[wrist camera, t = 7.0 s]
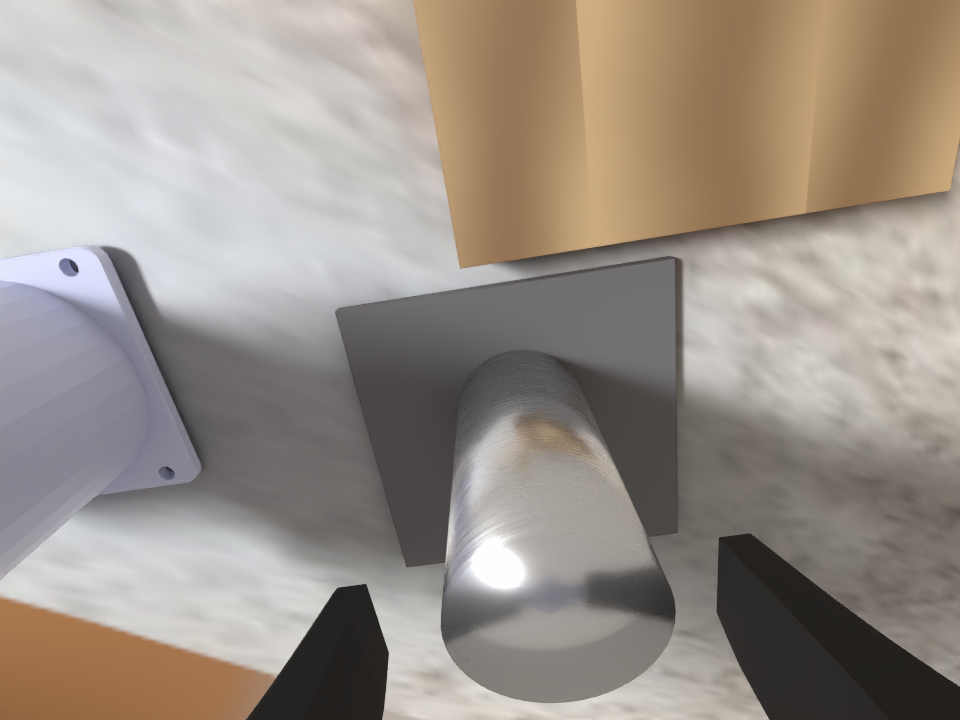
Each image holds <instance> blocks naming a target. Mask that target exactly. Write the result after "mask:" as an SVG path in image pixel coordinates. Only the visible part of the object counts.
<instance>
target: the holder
mask: <svg viewBox="0 0 960 720" xmlns="http://www.w3.org/2000/svg"><path fill="white" fill-rule="evenodd" d="M413 3H414V8H415V14H416V20H417V25H418V31H419V37H420V42H421V48H422V54H423V60H424V65H425V71H426V77H427V82H428V88H429V94H430V100H431V105H432V111H433V117H434V122H435V128H436V134H437V140H438V145H439V151H440V157H441V162H442V168H443V174H444V180H445V185H446V191H447V197H448V202H449V208H450V214H451V220H452V225H453V231H454V237H455V242H456V248H457V254H458V260H459V265H460V269H461V268H467V267H473V266H480V265H486V264H492V263H498V262H505V261H511V260H517V259H523V258H530V257H536V256H542V255H548V254H555V253H561V252H567V251H573V250H580V249H586V248H592V247H598V246H605V245H611V244H617V243H623V242H630V241H636V240H642V239H648V238H655V237H661V236H667V235H673V234H680V233H686V232H692V231H698V230H705V229H711V228H717V227H723V226H730V225H736V224H742V223H748V222H755V221H761V220H767V219H773V218H780V217H786V216H792V215H799V214H805V213H811V212H817V211H824V210H830V209H836V208H842V207H849V206H855V205H861V204H867V203H874V202H880V201H886V200H892V199H899V198H905V197H911V196H917V195H924V194H930V193H936V192H942V191H949V190H950V187H951V182H952V177H953V172H954V166H955V161H956V156H957V150H958V145H959V140H960V0H413Z"/></svg>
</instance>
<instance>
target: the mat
mask: <svg viewBox="0 0 960 720" xmlns="http://www.w3.org/2000/svg"><path fill="white" fill-rule="evenodd" d="M335 314H336V317H337V321H338V324H339V328H340V331H341V335H342V339H343V342H344V346H345V349H346V353H347V356H348V360H349V364H350V367H351V371H352V374H353V378H354V381H355V385H356V388H357V392H358V396H359V399H360V403H361V406H362V410H363V413H364V417H365V421H366V424H367V428H368V431H369V435H370V438H371V442H372V446H373V449H374V453H375V456H376V460H377V463H378V467H379V470H380V474H381V478H382V481H383V485H384V488H385V492H386V495H387V499H388V503H389V506H390V510H391V513H392V517H393V520H394V524H395V528H396V531H397V535H398V538H399V542H400V545H401V549H402V552H403V556H404V560H405V563H406V567H413V566H420V565H428V564H436V563H444V562H446V551H447V538H448V526H449V514H450V502H451V490H452V477H453V465H454V453H455V441H456V429H457V417H458V404H459V397H460V393H461V390H462V387H463V385H464V383H465V381H466V380H467V378H468V377H469V375H470V374H471V373H472V372H473V371H474V369H475V368H477V367H478V366H479V365H480V364H481V363H483V362H484V361H486V360H487V359H489V358H491V357H493V356H495V355H497V354H500V353H503V352H508V351H512V350H532V351H538V352H542V353H545V354H547V355H550V356H552V357H554V358H556V359H557V360H559V361H561V362H562V363H563V364H564V365H565V366H567V367H568V369H569V370H570V371H571V372H572V373H573V375H574V376H575V378H576V379H577V381H578V383H579V385H580V388H581V390H582V392H583V394H584V397H585V399H586V401H587V403H588V406H589V408H590V410H591V412H592V414H593V417H594V419H595V421H596V423H597V426H598V428H599V430H600V432H601V434H602V437H603V439H604V441H605V443H606V446H607V448H608V450H609V452H610V454H611V457H612V459H613V461H614V463H615V466H616V468H617V470H618V472H619V475H620V477H621V479H622V481H623V483H624V486H625V488H626V490H627V492H628V495H629V497H630V499H631V501H632V503H633V506H634V508H635V510H636V512H637V515H638V517H639V519H640V521H641V524H642V526H643V528H644V530H645V532H646V535H647V537H650V536H658V535H665V534H673V533H678V524H677V426H676V327H675V258H673V257H671V256H667V257H661V258H654V259H648V260H642V261H635V262H629V263H623V264H616V265H610V266H604V267H597V268H591V269H585V270H578V271H572V272H566V273H559V274H553V275H546V276H540V277H534V278H527V279H521V280H515V281H508V282H502V283H496V284H489V285H483V286H477V287H470V288H464V289H458V290H451V291H445V292H439V293H432V294H426V295H420V296H413V297H407V298H400V299H394V300H388V301H381V302H375V303H369V304H362V305H356V306H350V307H343V308H338V309H337V310H336V312H335Z"/></svg>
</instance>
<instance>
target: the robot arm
mask: <svg viewBox="0 0 960 720" xmlns="http://www.w3.org/2000/svg"><path fill="white" fill-rule="evenodd" d="M70 259H71V260H72V261H74V262H75V263H76V264H77V266H78V270H79V272H78V273H77V272H75V271H74V270H73V269H72V267H71V266H70ZM166 467H169V468H171V469H172V470H173V471H174V473H172V472H170V471H168V470H167V468H166ZM200 471H201V464H200V461H199V459H198V457H197V454H196V452H195V450H194V447H193V445H192V443H191V441H190V438H189V436H188V434H187V432H186V429H185V427H184V425H183V422H182V420H181V418H180V416H179V413H178V411H177V409H176V407H175V404H174V402H173V400H172V398H171V395H170V393H169V391H168V388H167V386H166V384H165V382H164V379H163V377H162V375H161V373H160V370H159V368H158V366H157V363H156V361H155V359H154V357H153V354H152V352H151V350H150V348H149V345H148V343H147V341H146V338H145V336H144V334H143V332H142V329H141V327H140V325H139V323H138V320H137V318H136V316H135V313H134V311H133V309H132V307H131V304H130V302H129V300H128V298H127V295H126V293H125V291H124V289H123V286H122V284H121V282H120V279H119V277H118V275H117V273H116V270H115V268H114V266H113V264H112V261H111V259H110V258H109V256H108V255H107V253H106V252H104V251H103V250H102V249H101V248H99V247H96V246H94V245H84V246H78V247H72V248H66V249H61V250H55V251H49V252H43V253H37V254H31V255H25V256H19V257H13V258H8V259H2V260H0V580H1V579H2V578H3V577H4V576H5V575H7V574H8V573H9V572H10V571H11V570H12V569H13V568H14V567H16V566H17V565H18V564H19V563H20V562H21V561H22V560H24V559H25V558H26V557H27V556H28V555H29V554H30V553H32V552H33V551H34V550H35V549H36V548H37V547H38V546H40V545H41V544H42V543H43V542H44V541H45V540H46V539H48V538H49V537H50V536H51V535H52V534H53V533H54V532H55V531H57V530H58V529H59V528H60V527H61V526H62V525H63V524H65V523H66V522H67V521H68V520H69V519H70V518H71V517H73V516H74V515H75V514H76V513H77V512H78V511H79V510H81V509H82V508H83V507H84V506H85V505H86V504H87V503H89V502H90V501H91V500H92V499H93V498H94V497H95V496H97V495H102V494H109V493H117V492H124V491H131V490H138V489H145V488H152V487H160V486H167V485H174V484H181V483H188V482H191V481H193V480H194V479H195V478H196V477H197V475H198V474H199V473H200ZM717 614H718V616H719V619H720V621H721V624H722V626H723V628H724V631H725V633H726V635H727V638H728V640H729V643H730V645H731V647H732V649H733V652H734V654H735V656H736V658H737V661H738V663H739V665H740V667H741V669H742V671H743V673H744V675H745V676H746V678H747V680H748V682H749V684H750V685H751V687H752V689H753V691H754V693H755V694H756V696H757V698H758V700H759V702H760V703H761V705H762V707H763V709H764V711H765V712H766V714H767V716H768V718H769V720H960V687H959V686H958V685H956V684H955V683H953V682H952V681H950V680H949V679H947V678H945V677H944V676H942V675H941V674H939V673H938V672H937V671H935V670H934V669H932V668H931V667H929V666H928V665H926V664H925V663H923V662H922V661H920V660H919V659H917V658H916V657H914V656H913V655H912V654H910V653H909V652H907V651H906V650H904V649H903V648H901V647H900V646H898V645H897V644H896V643H894V642H893V641H891V640H890V639H888V638H887V637H886V636H884V635H883V634H881V633H880V632H879V631H877V630H876V629H875V628H873V627H872V626H870V625H869V624H868V623H866V622H865V621H864V620H862V619H861V618H860V617H858V616H857V615H856V614H854V613H853V612H851V611H850V610H849V609H847V608H846V607H845V606H843V605H842V604H841V603H839V602H838V601H837V600H835V599H834V598H833V597H831V596H830V595H829V594H827V593H826V592H825V591H823V590H822V589H821V588H819V587H818V586H817V585H816V584H814V583H813V582H812V581H810V580H809V579H808V578H807V577H805V576H804V575H803V574H801V573H800V572H799V571H798V570H796V569H795V568H794V567H792V566H791V565H790V564H789V563H787V562H786V561H785V560H784V559H782V558H781V557H780V556H778V555H777V554H776V553H775V552H773V551H772V550H771V549H770V548H768V547H767V546H766V545H764V544H763V543H762V542H761V541H759V540H758V539H757V538H755V537H754V536H753V535H751V534H742V535H735V536H727V537H720V538H719V554H718V586H717ZM388 657H389V652H388V649H387V646H386V643H385V640H384V637H383V634H382V631H381V628H380V625H379V622H378V618H377V615H376V612H375V609H374V606H373V603H372V600H371V597H370V594H369V591H368V588H367V585H366V584H362V585H355V586H347V587H340V588H337V589H336V590H335V592H334V593H333V594H332V596H331V597H330V599H329V600H328V602H327V603H326V605H325V606H324V608H323V610H322V611H321V613H320V614H319V616H318V617H317V619H316V620H315V622H314V623H313V625H312V626H311V628H310V629H309V631H308V632H307V634H306V635H305V637H304V638H303V640H302V641H301V643H300V644H299V646H298V647H297V649H296V650H295V652H294V653H293V655H292V656H291V658H290V659H289V660H288V662H287V663H286V665H285V666H284V668H283V669H282V670H281V672H280V673H279V675H278V676H277V678H276V679H275V680H274V682H273V683H272V685H271V686H270V688H269V689H268V691H267V692H266V693H265V695H264V696H263V697H262V699H261V700H260V702H259V703H258V705H257V706H256V707H255V708H254V710H253V711H252V712H251V714H250V715H249V716H248V718H247V719H246V720H382V717H383V711H384V703H385V693H386V682H387V670H388Z"/></svg>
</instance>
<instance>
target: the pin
mask: <svg viewBox="0 0 960 720" xmlns="http://www.w3.org/2000/svg"><path fill="white" fill-rule="evenodd" d="M675 613H676V611H675V601H674V597H673V594H672V591H671V588H670V586H669V584H668V581H667V579H666V577H665V575H664V573H663V570H662V568H661V566H660V564H659V561H658V559H657V557H656V555H655V552H654V550H653V548H652V546H651V544H650V541H649V539H648V537H647V535H646V532H645V530H644V528H643V526H642V524H641V521H640V519H639V517H638V515H637V512H636V510H635V508H634V506H633V503H632V501H631V499H630V497H629V495H628V492H627V490H626V488H625V486H624V483H623V481H622V479H621V477H620V475H619V472H618V470H617V468H616V466H615V463H614V461H613V459H612V457H611V454H610V452H609V450H608V448H607V446H606V443H605V441H604V439H603V437H602V434H601V432H600V430H599V428H598V426H597V423H596V421H595V419H594V417H593V414H592V412H591V410H590V408H589V406H588V403H587V401H586V399H585V397H584V394H583V392H582V390H581V388H580V385H579V383H578V381H577V379H576V378H575V376H574V375H573V373H572V372H571V371H570V370H569V369H568V367H567V366H565V365H564V364H563V363H562V362H561V361H559V360H557V359H556V358H554V357H552V356H550V355H547V354H545V353H542V352H538V351H532V350H512V351H508V352H503V353H500V354H497V355H495V356H493V357H491V358H489V359H487V360H486V361H484V362H483V363H481V364H480V365H479V366H478V367H477V368H475V369H474V371H473V372H472V373H471V374H470V375H469V377H468V378H467V380H466V381H465V383H464V385H463V387H462V390H461V393H460V397H459V404H458V417H457V429H456V441H455V453H454V465H453V477H452V490H451V502H450V514H449V526H448V538H447V551H446V563H445V575H444V587H443V599H442V611H441V631H442V637H443V641H444V644H445V646H446V649H447V651H448V653H449V655H450V656H451V658H452V660H453V661H454V662H455V663H456V665H457V666H458V667H459V668H460V669H461V670H462V671H463V672H464V673H465V674H466V675H467V676H468V677H470V678H471V679H472V680H474V681H475V682H476V683H478V684H480V685H481V686H483V687H485V688H487V689H489V690H491V691H493V692H496V693H498V694H501V695H504V696H507V697H510V698H514V699H519V700H523V701H530V702H539V703H561V702H572V701H579V700H584V699H588V698H592V697H596V696H599V695H602V694H605V693H608V692H610V691H613V690H615V689H617V688H619V687H621V686H623V685H625V684H627V683H628V682H630V681H632V680H634V679H635V678H636V677H638V676H639V675H640V674H642V673H643V672H644V671H645V670H647V669H648V668H649V667H650V666H651V665H652V664H653V663H654V662H655V661H656V659H657V658H658V657H659V656H660V655H661V653H662V652H663V650H664V649H665V647H666V645H667V644H668V641H669V639H670V637H671V635H672V631H673V627H674V624H675Z"/></svg>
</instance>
